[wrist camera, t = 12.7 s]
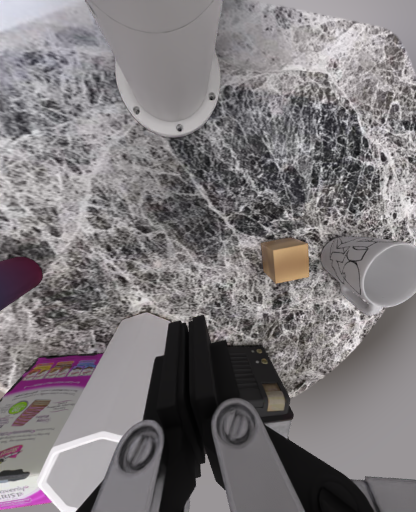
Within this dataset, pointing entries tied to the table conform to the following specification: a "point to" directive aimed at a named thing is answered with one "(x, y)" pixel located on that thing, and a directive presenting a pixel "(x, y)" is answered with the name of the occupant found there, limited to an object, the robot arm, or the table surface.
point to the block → (285, 259)
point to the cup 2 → (104, 412)
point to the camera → (262, 387)
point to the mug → (372, 271)
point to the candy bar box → (37, 423)
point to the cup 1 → (17, 278)
